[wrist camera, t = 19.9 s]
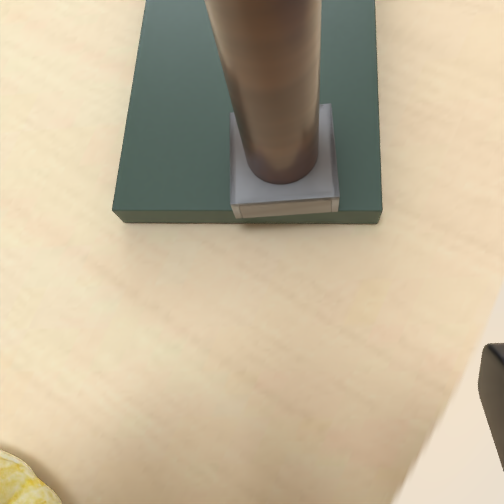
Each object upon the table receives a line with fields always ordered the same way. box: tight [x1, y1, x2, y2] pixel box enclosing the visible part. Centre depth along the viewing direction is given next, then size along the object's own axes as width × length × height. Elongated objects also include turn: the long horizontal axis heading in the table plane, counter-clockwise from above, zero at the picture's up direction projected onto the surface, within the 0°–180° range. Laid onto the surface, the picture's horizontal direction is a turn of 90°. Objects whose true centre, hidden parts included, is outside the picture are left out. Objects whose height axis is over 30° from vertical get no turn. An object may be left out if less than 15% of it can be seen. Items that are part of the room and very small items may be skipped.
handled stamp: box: [204, 0, 340, 219], centre depth 14 cm, size 4×4×14 cm
